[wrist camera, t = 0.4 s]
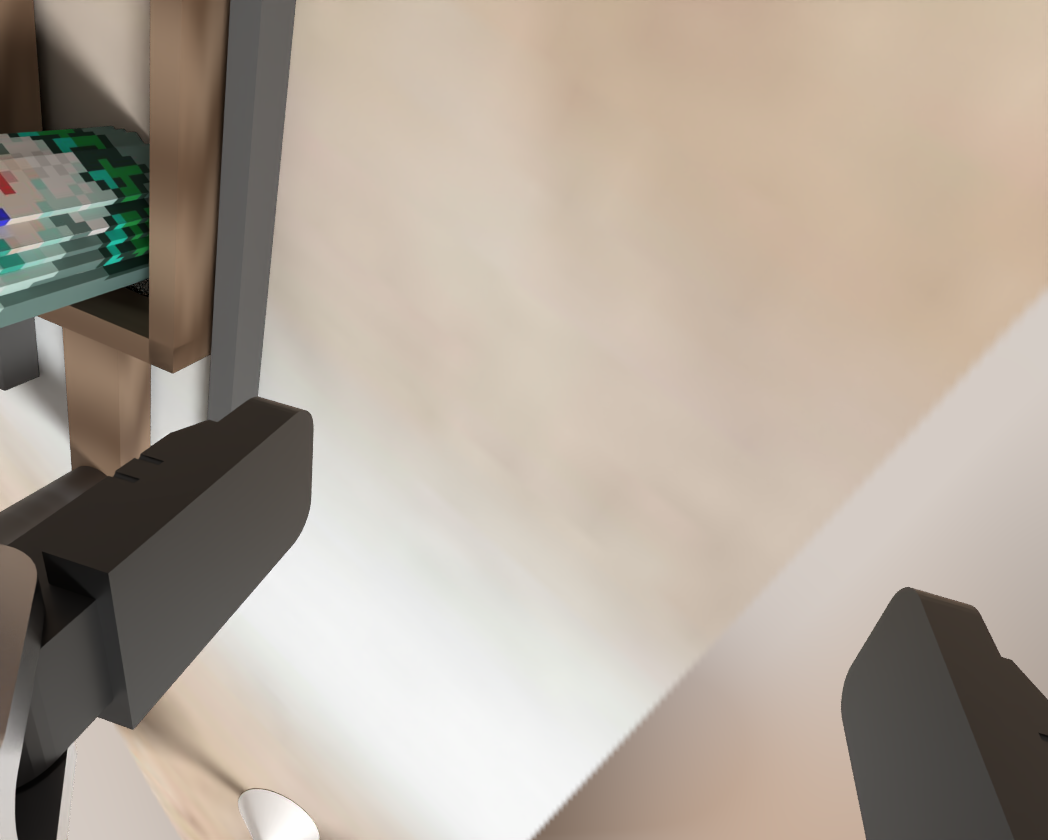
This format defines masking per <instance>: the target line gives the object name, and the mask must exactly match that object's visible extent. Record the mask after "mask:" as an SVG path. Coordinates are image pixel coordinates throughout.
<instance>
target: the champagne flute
mask: <svg viewBox="0 0 1048 840" xmlns="http://www.w3.org/2000/svg"><path fill="white" fill-rule="evenodd" d="M238 807H239V811H240V813H241V815H242V818H243V820H244V822H245V824H246V826H247V828H248V830H249V832H250V834H251V836H252V838H253V840H319V838H320V837H319V832H318V829H317V827H316V825H315V823H314V822H313V820H312V819H311V818H310V817H309V815H308V814H307V813H306V812H305V811H304V810H303V809H302V808H300V807H299V806H298V805H297V804H295V803H294V802H292V801H291V800H289V799H287V798H286V797H284V796H282V795H279V794H277V793H275V792H271V791H268V790H262V789H251V790H247V791H245V792H244V793H242V794H241V796H240V797H239V800H238Z"/></svg>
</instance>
